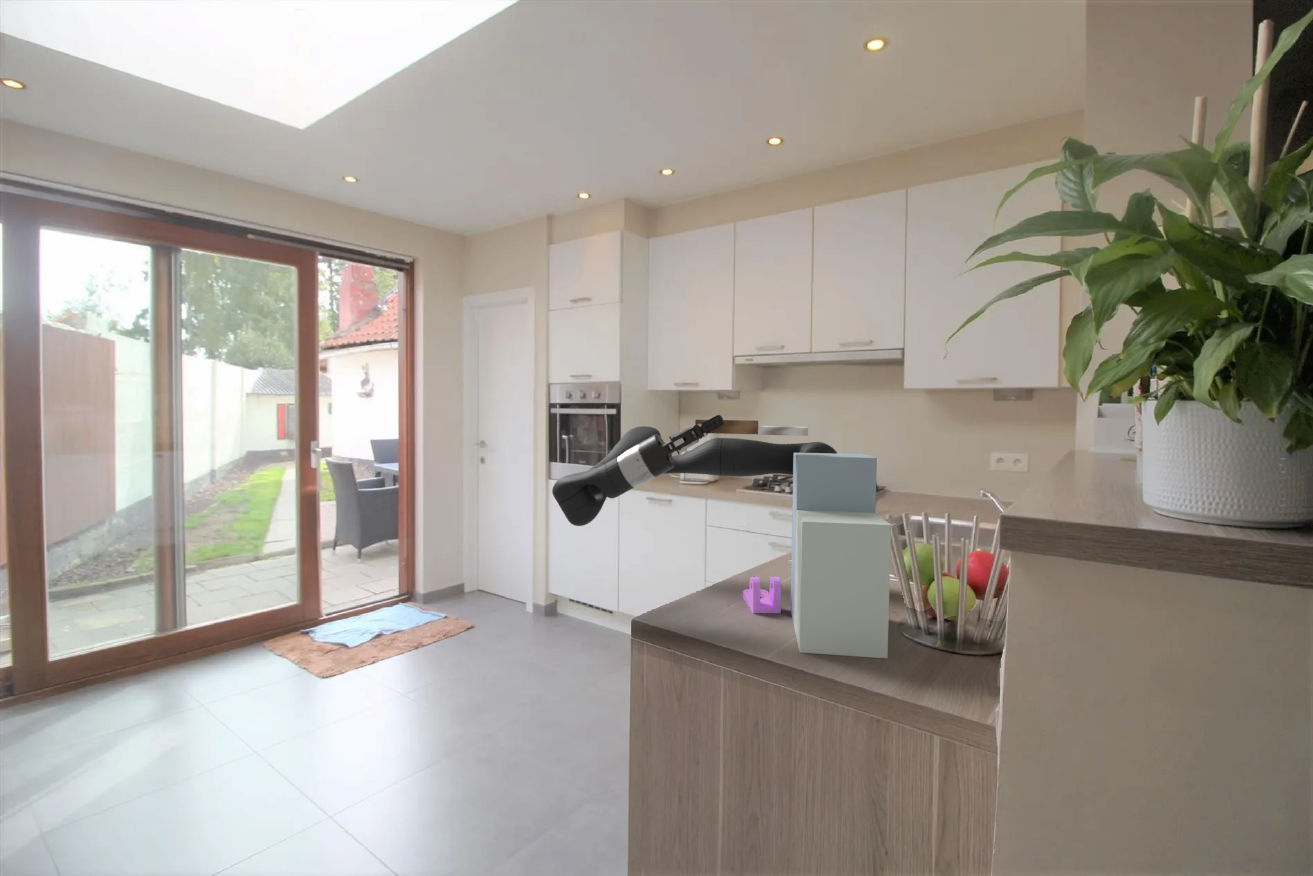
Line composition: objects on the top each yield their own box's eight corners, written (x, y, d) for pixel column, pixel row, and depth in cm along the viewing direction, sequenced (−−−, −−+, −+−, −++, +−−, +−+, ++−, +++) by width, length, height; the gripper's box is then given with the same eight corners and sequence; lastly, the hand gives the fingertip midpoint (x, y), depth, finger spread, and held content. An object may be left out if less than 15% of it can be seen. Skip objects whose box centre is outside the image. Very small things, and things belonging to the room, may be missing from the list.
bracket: (780, 614, 119) (781, 579, 118) (753, 614, 118) (753, 579, 118) (765, 594, 132) (766, 563, 131) (740, 594, 131) (741, 563, 131)
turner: (694, 433, 113) (694, 419, 113) (697, 432, 120) (697, 419, 119) (807, 435, 109) (808, 421, 109) (804, 434, 116) (804, 421, 116)
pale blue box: (799, 652, 99) (803, 461, 98) (790, 609, 121) (793, 452, 120) (887, 658, 97) (892, 463, 96) (861, 614, 119) (866, 454, 117)
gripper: (629, 446, 111) (710, 401, 108) (643, 442, 125) (715, 402, 122) (648, 481, 111) (730, 437, 108) (660, 474, 125) (733, 434, 122)
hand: (722, 419), depth 115 cm, fingers closed on turner, 2 cm apart
